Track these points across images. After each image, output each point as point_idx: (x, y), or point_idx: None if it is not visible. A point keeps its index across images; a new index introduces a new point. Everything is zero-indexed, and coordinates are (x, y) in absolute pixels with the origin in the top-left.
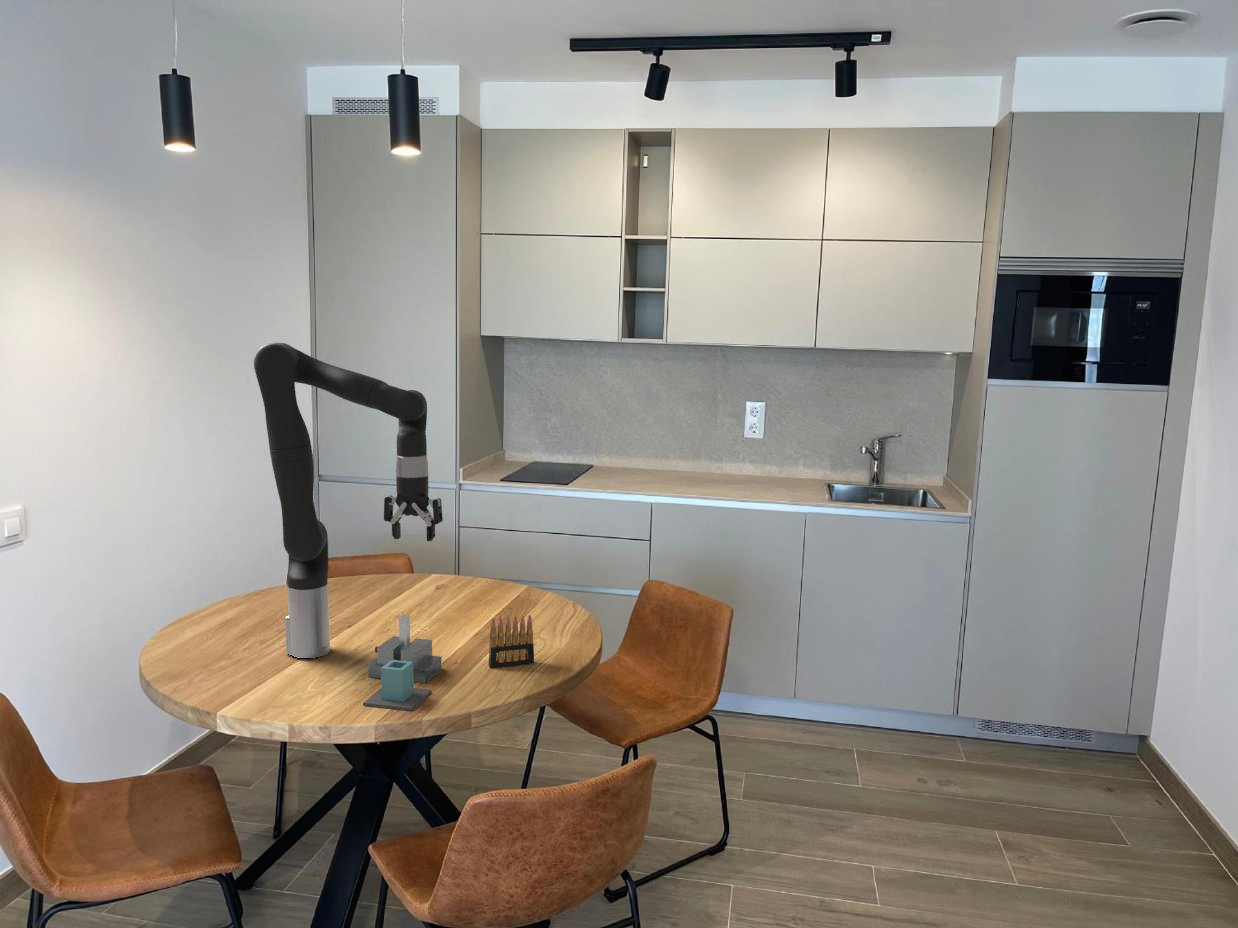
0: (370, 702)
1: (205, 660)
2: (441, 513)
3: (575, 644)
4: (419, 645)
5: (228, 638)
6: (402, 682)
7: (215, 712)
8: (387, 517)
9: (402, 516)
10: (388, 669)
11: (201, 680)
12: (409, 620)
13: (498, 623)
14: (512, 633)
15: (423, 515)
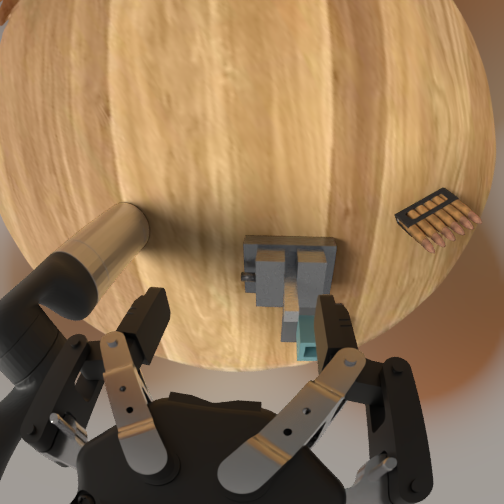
0: (287, 340)
1: None
2: (415, 408)
3: (479, 118)
4: (315, 287)
5: (35, 212)
6: None
7: (166, 358)
8: (100, 383)
9: (134, 366)
10: (306, 360)
11: (101, 311)
12: (298, 305)
13: (436, 242)
14: (445, 224)
15: (309, 440)
